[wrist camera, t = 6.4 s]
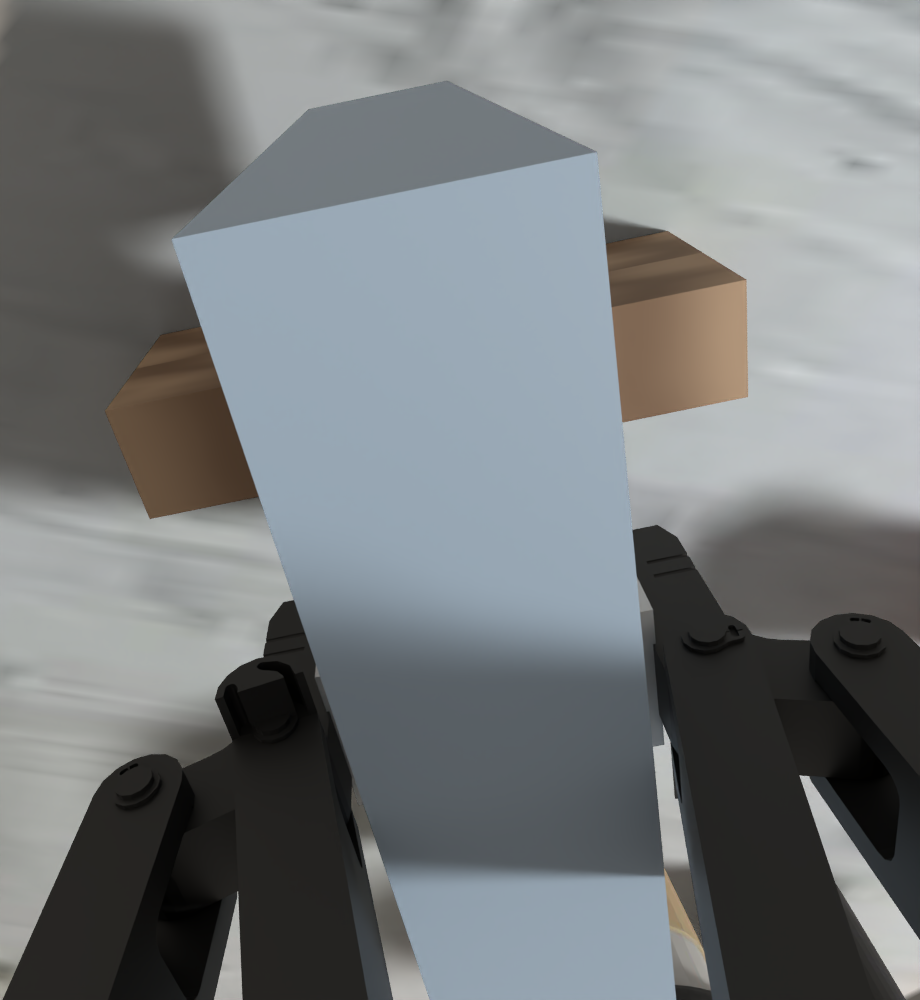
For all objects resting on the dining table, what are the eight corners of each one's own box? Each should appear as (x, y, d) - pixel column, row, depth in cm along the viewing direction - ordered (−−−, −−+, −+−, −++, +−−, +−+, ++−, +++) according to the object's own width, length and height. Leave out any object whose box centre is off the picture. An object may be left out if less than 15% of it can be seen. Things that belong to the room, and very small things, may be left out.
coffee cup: (424, 789, 41) (449, 1141, 28) (576, 681, 39) (682, 1009, 25) (544, 877, 45) (616, 1222, 32) (689, 782, 42) (832, 1113, 29)
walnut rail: (193, 425, 31) (149, 518, 25) (160, 334, 29) (104, 411, 23) (673, 327, 31) (747, 396, 25) (667, 231, 29) (746, 279, 23)
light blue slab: (433, 620, 29) (489, 1174, 14) (308, 109, 21) (171, 238, 7) (534, 599, 28) (689, 1136, 14) (447, 80, 21) (596, 152, 7)
